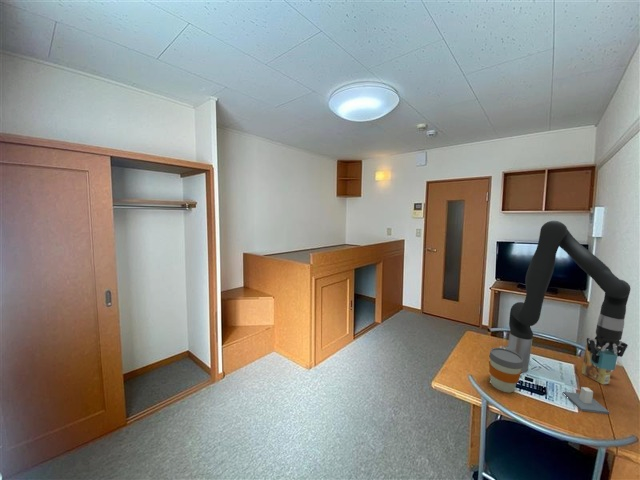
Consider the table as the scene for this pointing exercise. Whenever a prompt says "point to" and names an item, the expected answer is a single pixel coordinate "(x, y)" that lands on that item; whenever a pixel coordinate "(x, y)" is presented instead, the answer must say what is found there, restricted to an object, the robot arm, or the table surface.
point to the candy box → (594, 370)
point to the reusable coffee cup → (505, 369)
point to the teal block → (606, 360)
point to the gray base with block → (586, 401)
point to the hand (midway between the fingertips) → (602, 363)
